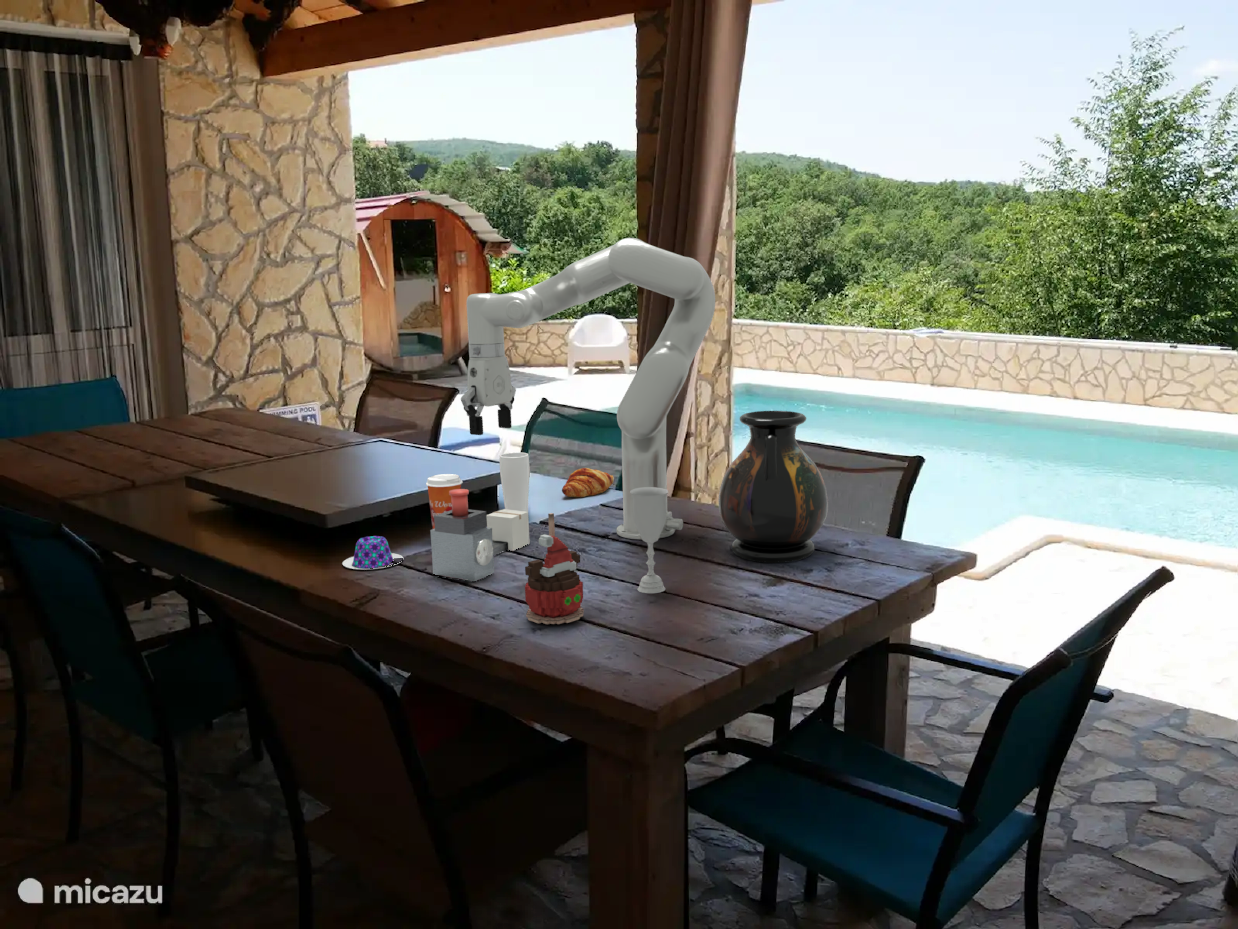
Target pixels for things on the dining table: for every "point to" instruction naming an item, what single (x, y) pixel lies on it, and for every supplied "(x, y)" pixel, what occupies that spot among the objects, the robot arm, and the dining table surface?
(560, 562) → the christmas candy apple
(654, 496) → the chalice
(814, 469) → the black painted vase
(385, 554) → the purple patterned hat
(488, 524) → the white taped box
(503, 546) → the rail
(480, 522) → the cabinet
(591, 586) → the dining table surface
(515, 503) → the drinking glass
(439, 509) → the paper cup
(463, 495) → the button
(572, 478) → the croissant
